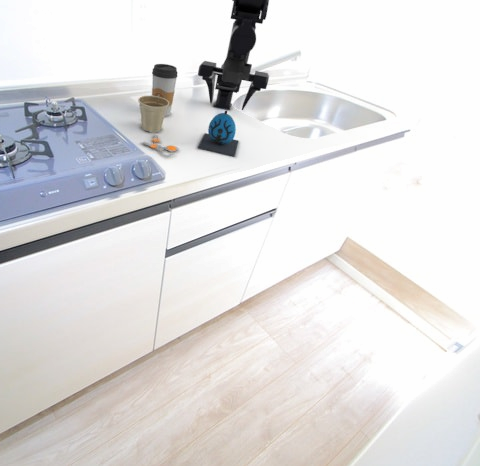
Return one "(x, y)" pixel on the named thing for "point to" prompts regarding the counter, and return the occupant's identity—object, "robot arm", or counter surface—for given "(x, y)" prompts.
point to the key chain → (169, 148)
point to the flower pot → (152, 112)
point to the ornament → (222, 128)
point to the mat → (218, 146)
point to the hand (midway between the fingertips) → (226, 106)
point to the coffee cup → (164, 83)
